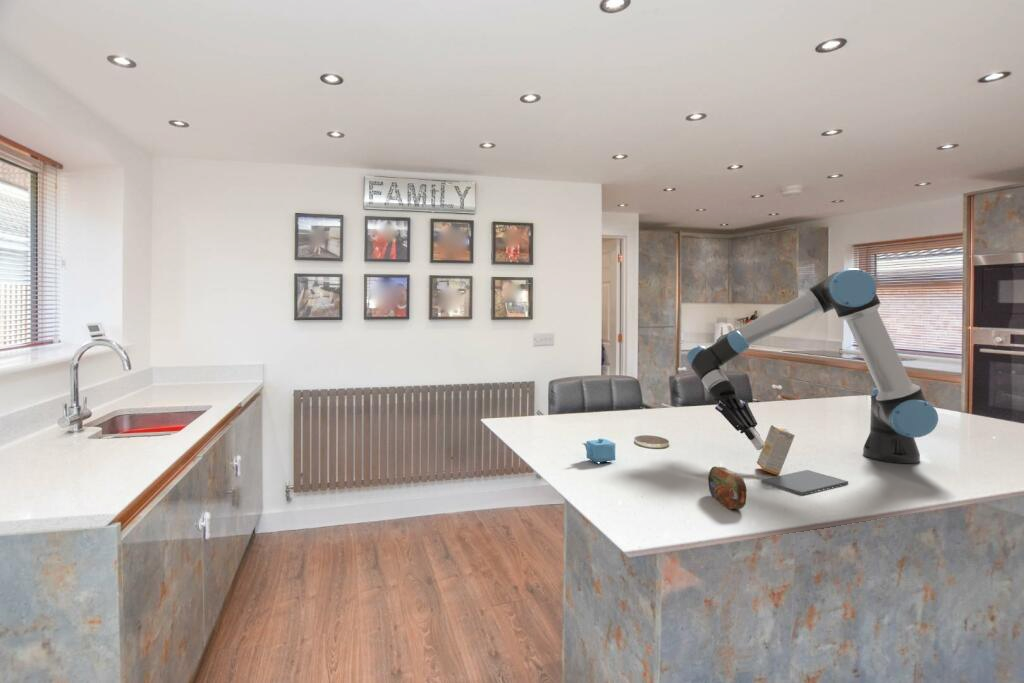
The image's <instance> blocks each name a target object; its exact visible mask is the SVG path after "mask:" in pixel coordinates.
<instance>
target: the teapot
mask: <svg viewBox="0 0 1024 683" xmlns="http://www.w3.org/2000/svg"><path fill="white" fill-rule="evenodd" d="M581 445H584V447H585V450H586V458H587V459H589V460H590V461H591V460H592V461H591V462H594V463H597V462H601V463H602V462H603V463H604V462H606V461H610V462H612V461H616V443H615V442H613V441H611V440H609V439H605V438H598V439H594V440H587V441H586V442H582V443H581Z"/></svg>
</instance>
